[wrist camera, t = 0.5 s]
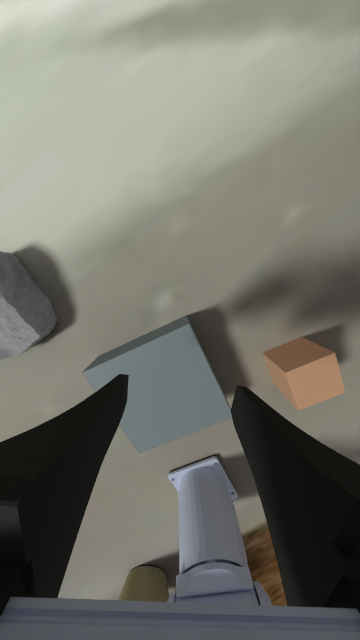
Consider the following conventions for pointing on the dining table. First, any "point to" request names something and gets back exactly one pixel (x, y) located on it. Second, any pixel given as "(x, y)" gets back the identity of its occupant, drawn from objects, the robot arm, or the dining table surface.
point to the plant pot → (145, 585)
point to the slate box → (163, 385)
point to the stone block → (21, 308)
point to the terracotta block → (304, 372)
